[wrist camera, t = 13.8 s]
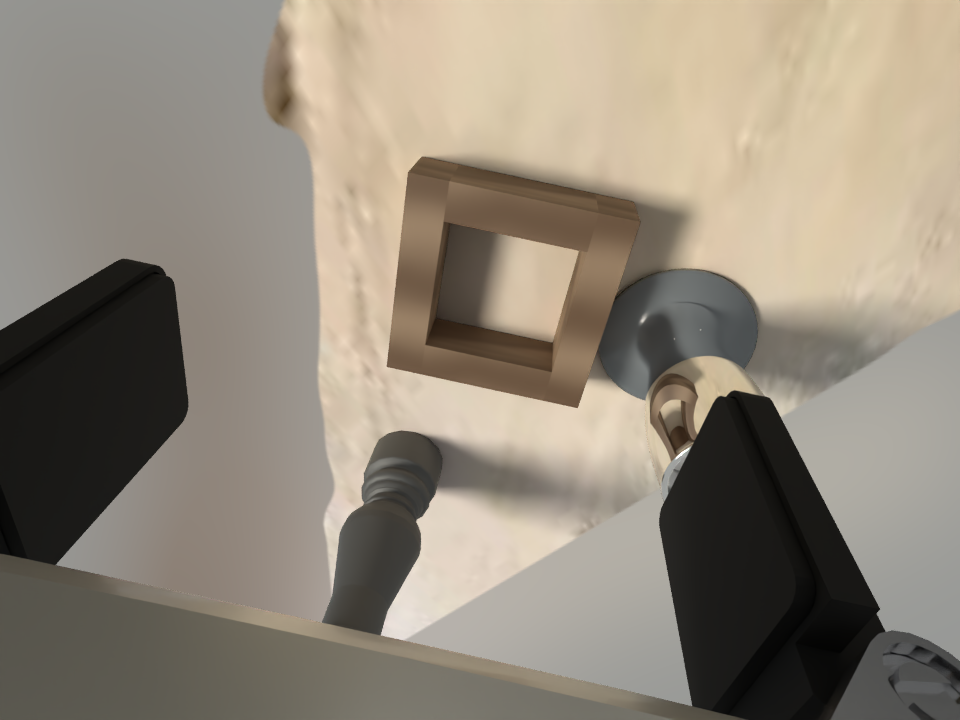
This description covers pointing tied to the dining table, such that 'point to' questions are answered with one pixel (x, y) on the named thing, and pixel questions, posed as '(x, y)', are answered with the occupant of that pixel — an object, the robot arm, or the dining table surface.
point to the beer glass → (683, 381)
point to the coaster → (664, 291)
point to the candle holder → (383, 531)
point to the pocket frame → (519, 213)
